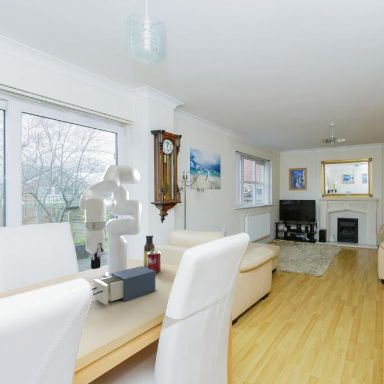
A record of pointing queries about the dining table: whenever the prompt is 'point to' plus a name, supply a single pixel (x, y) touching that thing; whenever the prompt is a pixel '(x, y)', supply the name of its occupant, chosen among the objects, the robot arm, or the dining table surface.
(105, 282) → the white drawer
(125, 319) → the dining table surface
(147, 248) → the sauce bottle
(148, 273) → the blue-grey drawer housing
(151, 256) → the soda can
